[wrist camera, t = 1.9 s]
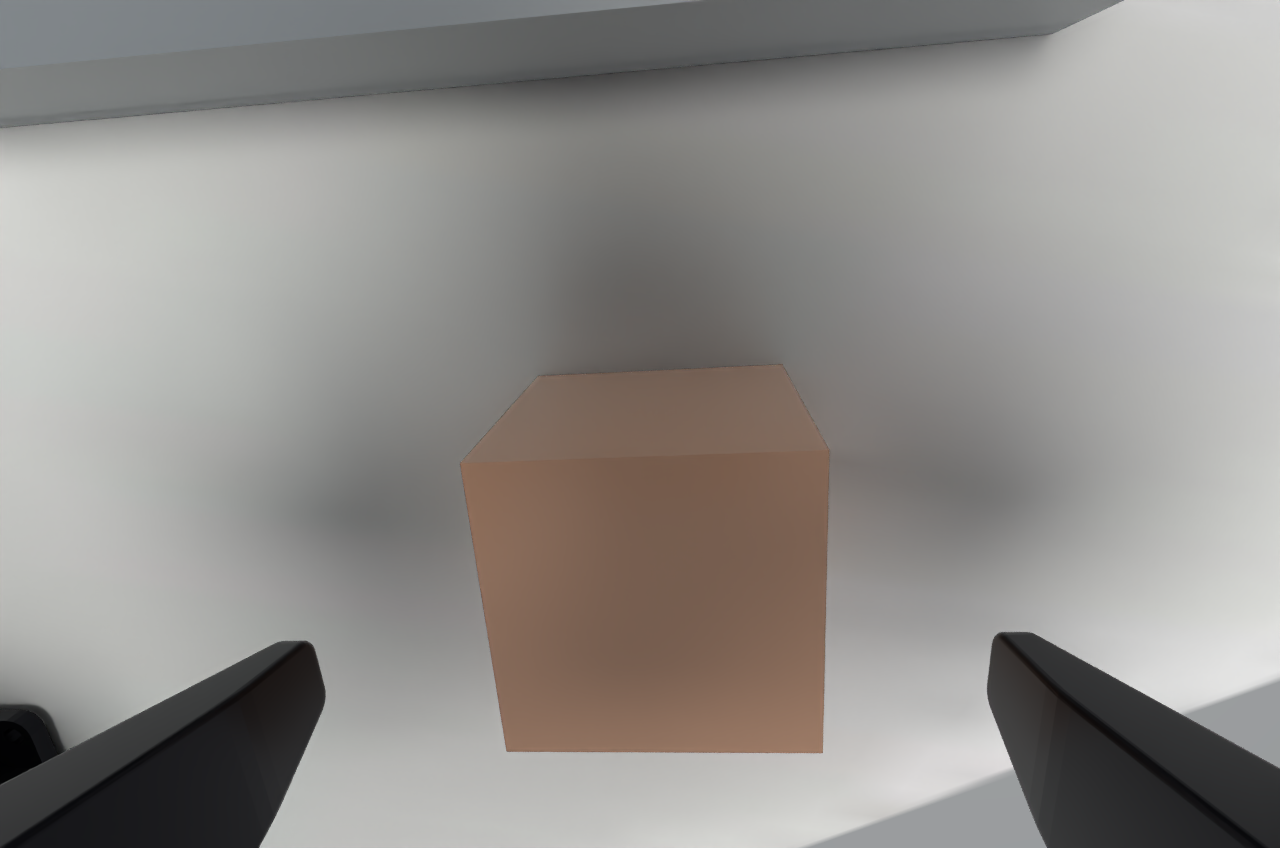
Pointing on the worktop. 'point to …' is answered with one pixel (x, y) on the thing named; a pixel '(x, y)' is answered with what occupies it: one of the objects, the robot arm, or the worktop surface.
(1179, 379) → the worktop surface
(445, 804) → the worktop surface
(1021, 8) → the bin
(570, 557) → the brown block
